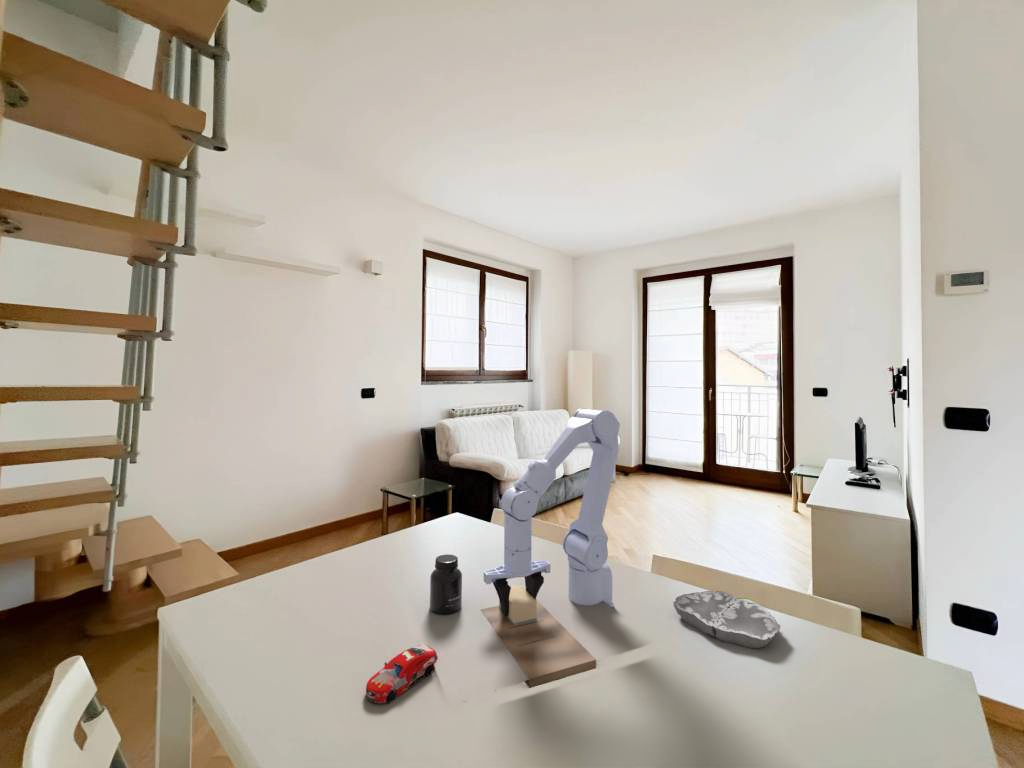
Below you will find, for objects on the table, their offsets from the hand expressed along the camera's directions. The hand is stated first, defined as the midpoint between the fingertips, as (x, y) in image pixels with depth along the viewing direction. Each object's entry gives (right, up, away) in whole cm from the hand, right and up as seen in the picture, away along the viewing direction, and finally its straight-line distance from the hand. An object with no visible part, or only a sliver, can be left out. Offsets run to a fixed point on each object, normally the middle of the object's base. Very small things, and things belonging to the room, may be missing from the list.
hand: (517, 611), depth 92 cm
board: (+3, -2, -7) cm, 8 cm away
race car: (-19, -3, -19) cm, 27 cm away
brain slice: (+44, -3, 0) cm, 44 cm away
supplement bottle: (-15, -2, +3) cm, 16 cm away
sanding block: (0, -1, 0) cm, 1 cm away
